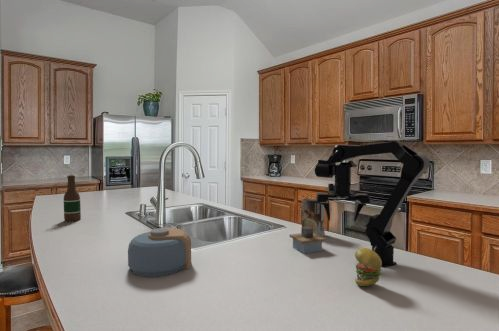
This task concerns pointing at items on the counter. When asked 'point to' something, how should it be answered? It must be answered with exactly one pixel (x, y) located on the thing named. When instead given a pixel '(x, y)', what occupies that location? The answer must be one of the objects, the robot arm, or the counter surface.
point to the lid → (307, 236)
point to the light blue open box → (307, 246)
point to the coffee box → (313, 216)
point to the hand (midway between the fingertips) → (341, 220)
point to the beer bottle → (72, 201)
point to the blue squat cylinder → (159, 252)
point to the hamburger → (367, 267)
